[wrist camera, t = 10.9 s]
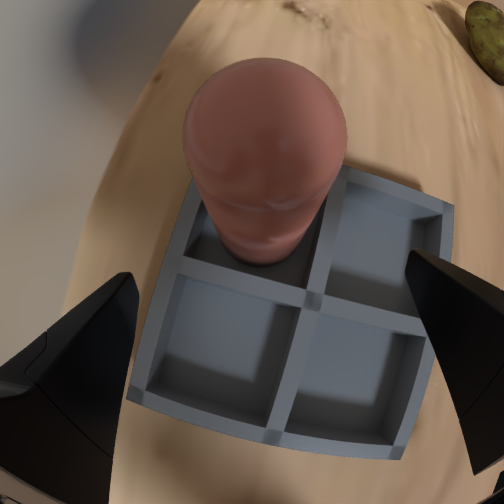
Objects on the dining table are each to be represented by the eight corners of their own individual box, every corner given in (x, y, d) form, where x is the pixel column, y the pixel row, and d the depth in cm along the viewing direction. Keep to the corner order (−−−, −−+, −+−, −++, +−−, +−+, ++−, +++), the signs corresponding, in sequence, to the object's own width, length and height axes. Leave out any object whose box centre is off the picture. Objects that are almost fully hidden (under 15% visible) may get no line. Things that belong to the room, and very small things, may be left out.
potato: (466, 71, 24) (496, 29, 17) (451, 21, 27) (470, -14, 19) (514, 102, 24) (546, 68, 16) (494, 47, 26) (516, 16, 19)
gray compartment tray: (383, 444, 17) (400, 459, 14) (143, 388, 18) (125, 398, 15) (433, 218, 20) (454, 205, 17) (215, 155, 22) (210, 132, 19)
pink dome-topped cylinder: (317, 241, 20) (407, 122, 7) (243, 283, 19) (221, 212, 6) (274, 174, 21) (294, 12, 8) (203, 211, 20) (139, 67, 7)
